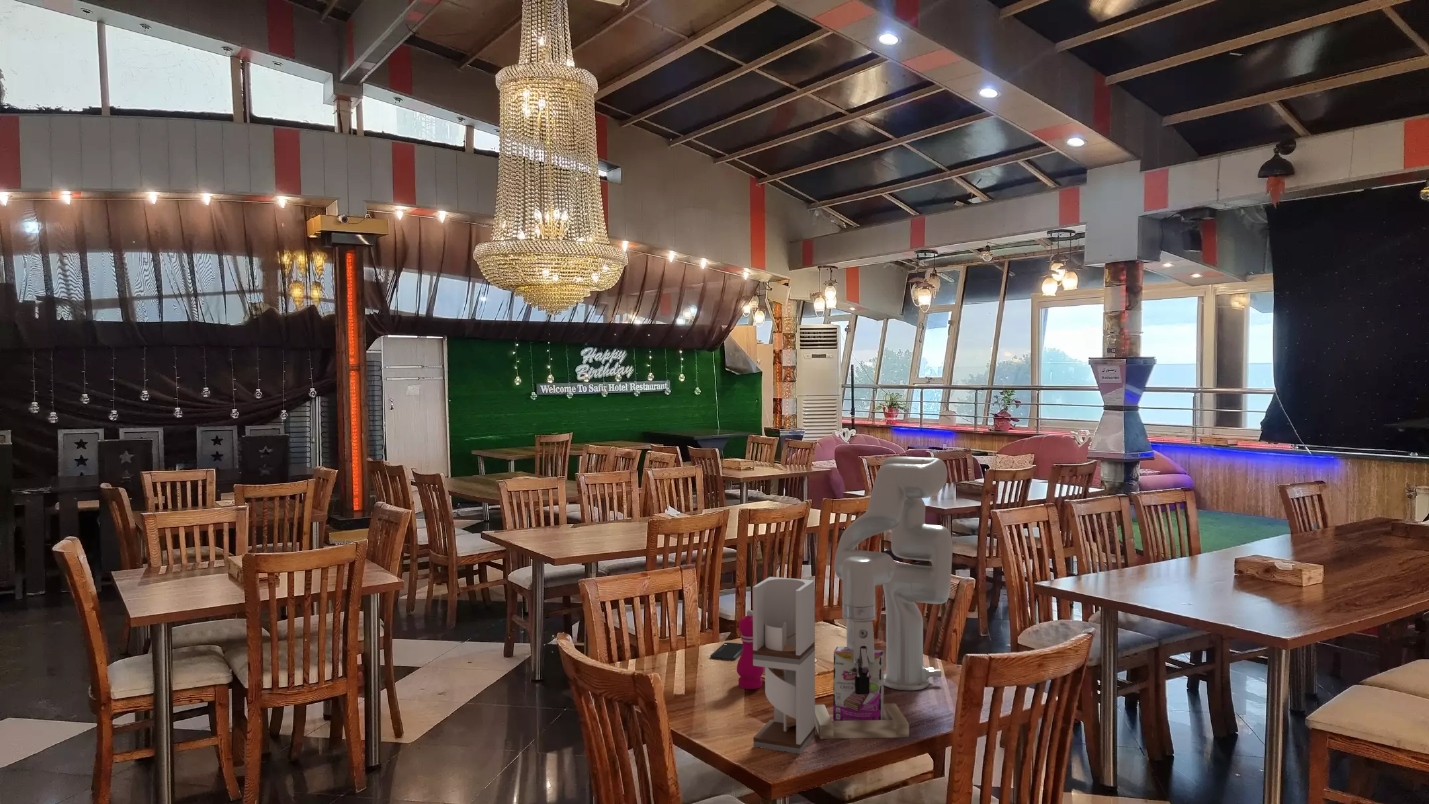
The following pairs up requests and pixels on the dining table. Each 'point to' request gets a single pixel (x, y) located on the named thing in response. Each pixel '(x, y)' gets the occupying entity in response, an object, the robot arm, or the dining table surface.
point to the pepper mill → (748, 656)
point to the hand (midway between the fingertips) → (859, 687)
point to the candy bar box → (844, 696)
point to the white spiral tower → (786, 660)
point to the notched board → (862, 725)
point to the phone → (728, 652)
